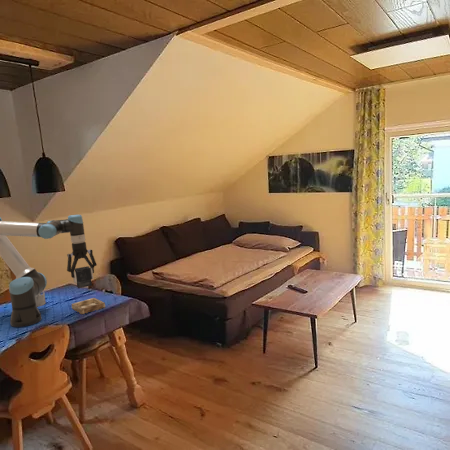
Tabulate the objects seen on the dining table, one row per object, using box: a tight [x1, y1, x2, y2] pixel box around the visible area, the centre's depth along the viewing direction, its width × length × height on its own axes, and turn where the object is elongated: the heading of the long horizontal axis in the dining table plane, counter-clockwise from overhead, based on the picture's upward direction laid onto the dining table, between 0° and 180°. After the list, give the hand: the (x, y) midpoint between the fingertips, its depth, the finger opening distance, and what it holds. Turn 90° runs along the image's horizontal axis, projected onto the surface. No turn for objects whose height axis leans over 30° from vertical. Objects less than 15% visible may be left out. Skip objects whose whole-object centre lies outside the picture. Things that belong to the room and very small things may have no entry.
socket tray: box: [71, 297, 106, 315], centre depth 234 cm, size 14×14×3 cm
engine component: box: [35, 291, 47, 308], centre depth 245 cm, size 11×20×10 cm
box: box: [74, 265, 93, 289], centre depth 230 cm, size 8×6×11 cm
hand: (83, 280), depth 230 cm, fingers closed on box, 9 cm apart
